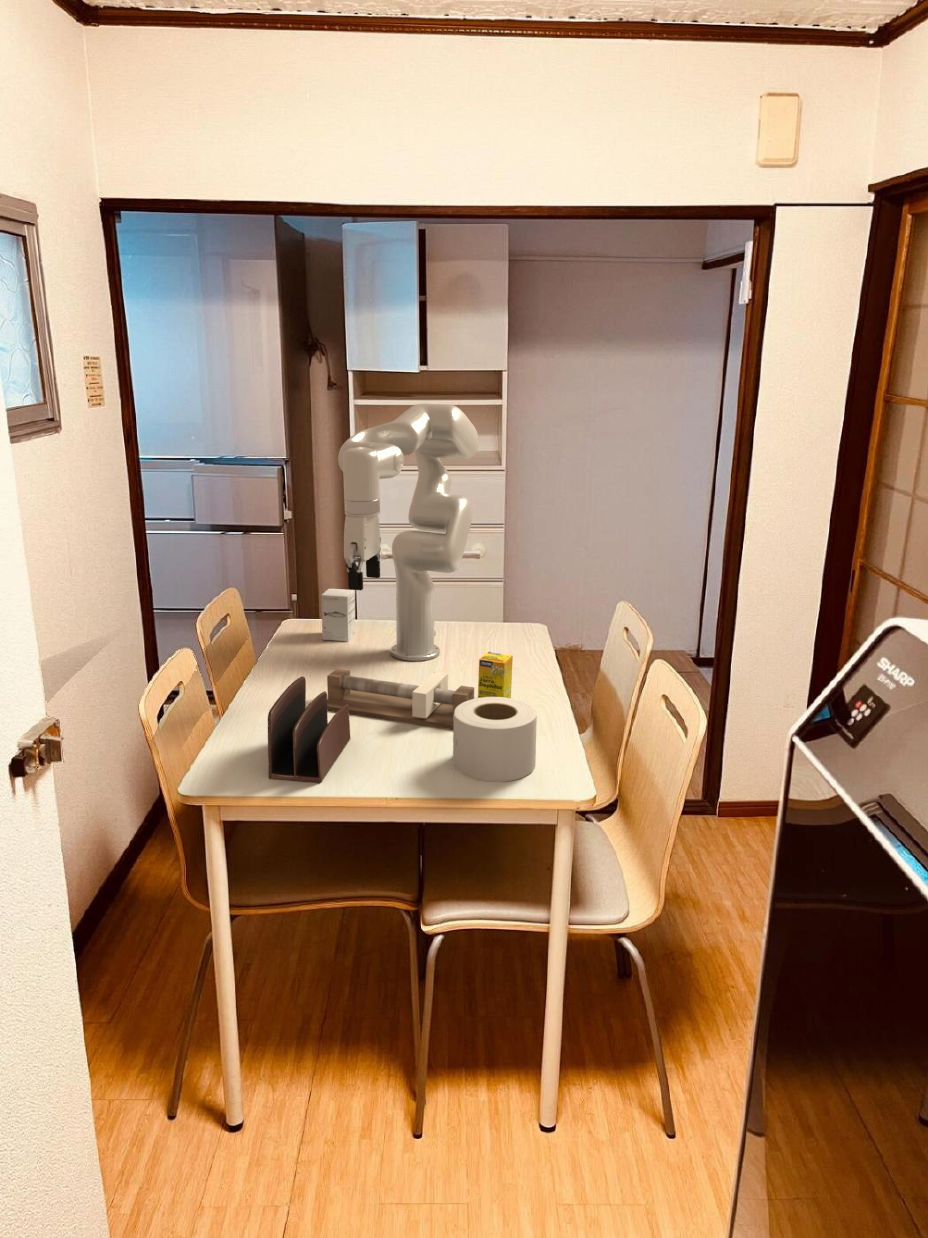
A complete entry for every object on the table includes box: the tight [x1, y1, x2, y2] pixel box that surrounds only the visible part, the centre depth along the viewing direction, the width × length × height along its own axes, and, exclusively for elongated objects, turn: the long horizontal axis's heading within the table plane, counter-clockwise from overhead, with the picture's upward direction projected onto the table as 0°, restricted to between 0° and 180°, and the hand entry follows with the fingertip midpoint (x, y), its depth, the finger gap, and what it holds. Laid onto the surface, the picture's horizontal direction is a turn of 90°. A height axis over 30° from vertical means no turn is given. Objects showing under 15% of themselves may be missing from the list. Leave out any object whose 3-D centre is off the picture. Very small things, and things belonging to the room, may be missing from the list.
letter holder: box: [267, 675, 351, 784], centre depth 173 cm, size 10×20×14 cm, turn 171°
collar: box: [412, 671, 449, 718], centre depth 195 cm, size 13×3×5 cm, turn 161°
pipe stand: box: [326, 668, 475, 731], centre depth 198 cm, size 12×32×6 cm, turn 71°
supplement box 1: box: [321, 588, 356, 643], centre depth 245 cm, size 7×7×13 cm
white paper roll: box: [452, 697, 538, 783], centre depth 172 cm, size 16×15×11 cm
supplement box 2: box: [477, 651, 514, 699], centre depth 201 cm, size 6×6×11 cm
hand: (364, 583), depth 202 cm, fingers open, 9 cm apart
